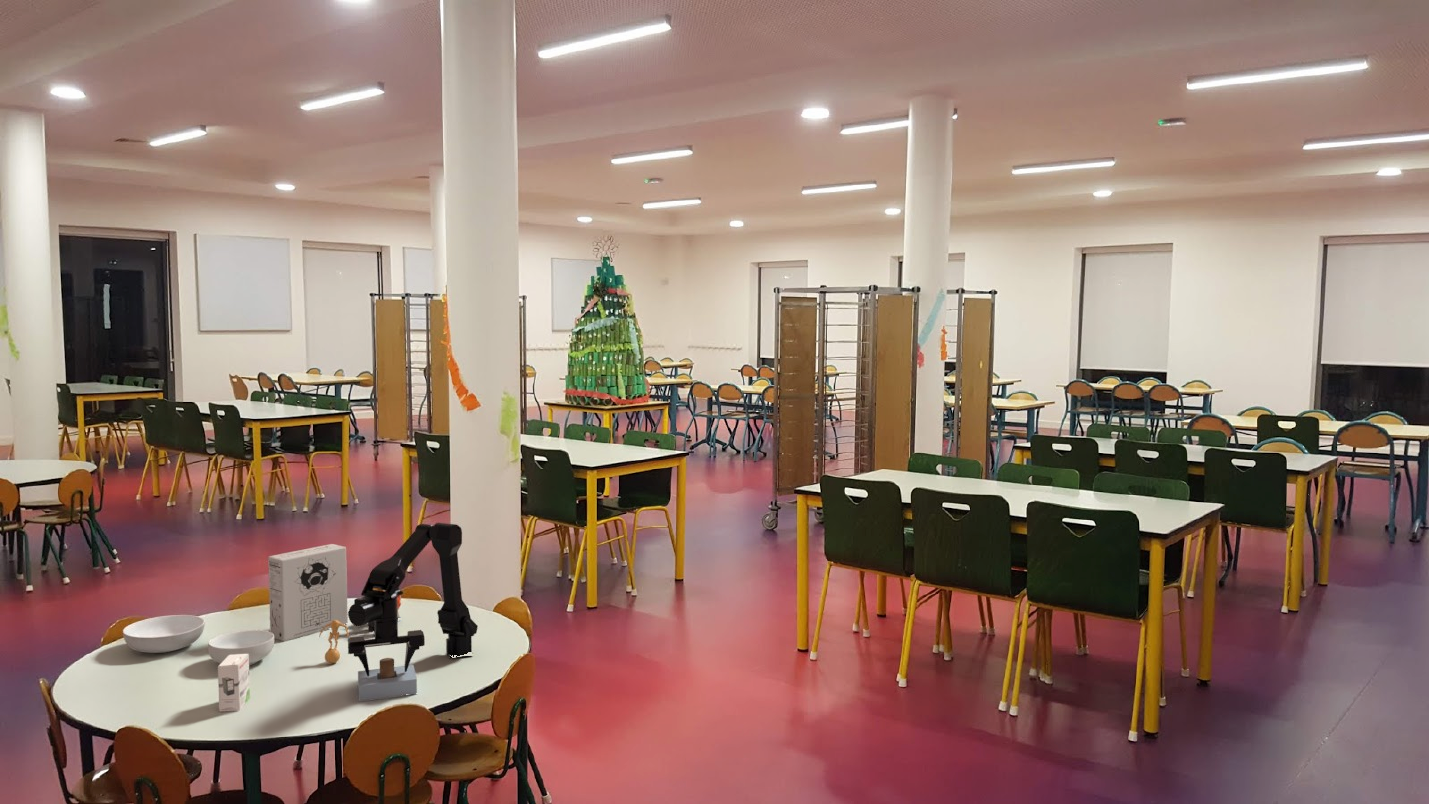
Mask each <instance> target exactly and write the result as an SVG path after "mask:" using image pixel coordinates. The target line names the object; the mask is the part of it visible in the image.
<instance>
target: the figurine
mask: <svg viewBox="0 0 1429 804" xmlns="http://www.w3.org/2000/svg"><path fill="white" fill-rule="evenodd" d="M328 626H331V630H332V631H330V632H329V636H328V643H329V644H330V646H329V648H328V650H327V651H326V652H325V653H324V660H325V662H326V663H328V664H335V663H337V662H338V661H339V660H340V657H341V653H340V651H339V650H337V647H338V643H339V642H338V640H339V638H340V637H339V636H340V632H339V627H343V628H344V629H345V633H346V637H347V638H350V636H349V635H350V634H349V631H348V626H347V624H346V625H344V624H342V623H340V622H339V621H338V620H335V619H334V620H333V621H332V622H331V623H329V624H327V625H325V626H324V628H323V629H322V631H320V632H319V634H318V635H319V638H320V637H321V635H322V633H324V631H325V630H324V629H325V627H328ZM333 638H334V643H335V646H334V648H332V647H333V641H332V640H333Z"/></svg>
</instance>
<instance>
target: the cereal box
mask: <svg viewBox="0 0 1429 804" xmlns="http://www.w3.org/2000/svg"><path fill="white" fill-rule="evenodd" d="M267 560H268V565H267V566H268V591H269V593H268V594H269V596H268V597H269V600H268V601H269V626H270V627H269V628H270V629H269V632H271V633H273V634H274V640H275V639H276V640H277V641H281V642H287V641H291V640H295V639H297V638H302V637H305V636H310V635H312V634H318V633H321V631H322V629H323V628H324V626H325V625H327V624H329V623H331V622H332V621H333V620H334V619H335V620H338V621H339V622H340V623H342V624H346V623H348V622H349V621H348V619H349V617H348V576H347V575H348V573H347V570H348V569H347V547H346V546H344V545H343V546H342V545H339V544H334V543H329V544H324V545H320V546H319V545H318V546H314V547H309V548H305V549H300V550H294V551H289V552H283V553H279V554H274V555H269V556H267ZM346 625H347V624H346ZM328 628H331V626H328V627H325V629H324V631H326V629H328ZM331 629H332V628H331ZM328 630H329V629H328Z"/></svg>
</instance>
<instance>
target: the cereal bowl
mask: <svg viewBox="0 0 1429 804" xmlns="http://www.w3.org/2000/svg"><path fill="white" fill-rule="evenodd" d="M274 644H275V638H274V634H273V633H271V632H270V631H267V630H263V629H262V630H260V629H249V630H248V629H247V630H237V631H233V632H232V631H231V632H228V633H227V632H226V633H223V634H220V635H217V636H214V637H212V638H211V639H210V640H209V641H208V642H207V650H208V655H209V657H210V658H211V659H212V660H213V661H214V662H216V663H218V664H219V665H220V664H221V663H222V662H223V661H224V660H225V659H226V658H227V657H228V656H229V655H235V654H249V667H250V666H253V665H254V664H255V665H256V663H257V662H258V661H261V660H263V659H264V658H266V657H268V656H269V655H270V654H271V652H272V650H273V649H274V646H275V645H274Z"/></svg>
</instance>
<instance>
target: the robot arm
mask: <svg viewBox="0 0 1429 804" xmlns="http://www.w3.org/2000/svg"><path fill="white" fill-rule="evenodd" d="M430 542H431V545H432V548H433V549H434V551H435V552H436V553H437V554H438V559H439V567H440V575H441V576H440V577H441V585H442V586H441V587H442V596H443V604H442V606H441V608H440V609H438V610H437V616H438V617H437V618H438V620H437V624H439V626H440V628H441V631H442V634H443V635H447V638H446V639H445V643H446V644H445V645H446V647H445V649H446V651H445V652H446V655H447V656H448V658H449V657H450V658H452V657H451V656H452V655H453V657H454V655H457V656H460V655H464V654H467V653H468V652H472V651H473V650H472V648H473V647H472V645H473V644H472V643H473V642H472V637H474V636H475V635H476V634H477V631H478V629H479V627H478V625H477V624H476V623H475V621H474V620H473V619H472V618H471V614H470V609H469V607H468V606H467V605H466V603H465V602H464V600H463V596H462V588H461V586H462V585H461V576H460V568H459V557H458V551H459V550H460V548H461V545H462V544H463V530H462V527H461V526H459V524H455V523H454V524H453V523H448V522H447V523H446V522H436V523H434V524H430V523H428V524H427V523H420V524H418V525H416V527H415V530H414V531H413V532H412V533H411V535H410V536H409V537H408V538H407V539H406V541H404V542H403V544H402V545H401V546H400V547H399V548H398V549H397V551H396V552H395V553H394V554H393V555H392V556H390V558H388V559H386V560H383V561H381V562H380V563H378V564H377V565H376V566H374V567H373V568H372V570H371V571H370V572H369V575H368V578H367V580H366V582H365V585H364V587H363V590H361V591H362V592H361V593H360V596H363V597H357V598H355V599H354V600H353V601H354V602H353V603H352V604H351V606H350V607H349V608H348V610H347V612H348V619H349V621H350V623H351V624H352V625H353V626H355V627H362V626H364V625H367V631H368V633H371V632H372V633H373V636H374V638H371V639H368V638H367V639H365V636H364V635H360V636H359V635H358V636H349V637H348V639H347V654H348V655H349V654H350V655H353V657H356V658H357V657H358V659H359V661H360V662H361V664H362V666H363V669H364V671H366V674H367V676H369V670H370V667H369V660H368V655H367V650H366V648H372V647H380V646H382V647H384V646H389V645H390V646H392V645H399V644H406V648H405V655H404V656H405V657H404V664H403V666H405V672H407V669H408V666H409V665H410V663H411V660H412V659H413V656H414V654H415V652H416V651H418V650H420V647H424V646H425V642H426V641H425V639H426V637H425V634H424V631H423V630H422V629H418V630H417V629H414V630H408V631H407V635H399V630H398V629H399V621H398V614H397V596H399V595H400V596H402V595H403V594H404V592H403V590H401V589H400V590H399V589H398V587H399V588H400V586H401V585H402V583H403V581H404V580H405V578H406V574H407V573H406V571H407V570H408V568H409V567H410V565H411V564H412V563H413V562H414V561H415V560H416V559H417V557H418V556H419V555H420V554H421V552H423V551H424V549H425V548H426V547H427V545H429V543H430ZM373 588H374V589H380V590H385V591H377V590H372V589H373ZM373 631H374V632H373ZM472 653H473V652H472ZM449 655H451V656H449ZM457 656H456V657H457ZM450 658H449V659H450ZM452 659H453V658H452Z"/></svg>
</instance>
